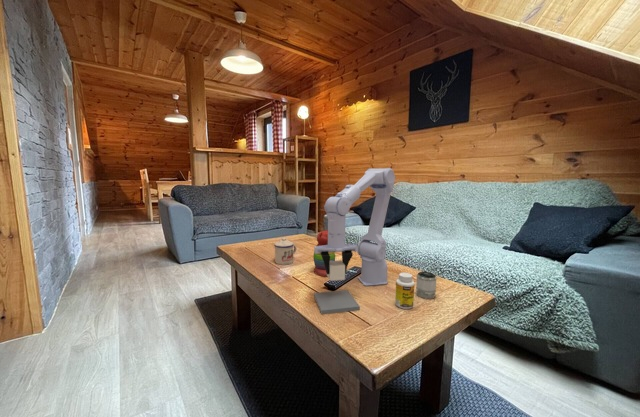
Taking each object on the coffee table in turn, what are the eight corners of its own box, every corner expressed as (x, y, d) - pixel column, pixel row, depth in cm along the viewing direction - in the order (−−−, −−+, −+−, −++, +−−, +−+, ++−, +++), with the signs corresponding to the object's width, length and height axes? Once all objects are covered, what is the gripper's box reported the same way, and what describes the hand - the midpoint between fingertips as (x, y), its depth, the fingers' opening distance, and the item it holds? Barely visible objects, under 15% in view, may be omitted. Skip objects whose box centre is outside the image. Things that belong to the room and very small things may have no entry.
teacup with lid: (282, 266, 119) (282, 241, 117) (270, 262, 125) (270, 238, 123) (302, 260, 127) (302, 236, 126) (289, 256, 134) (289, 234, 132)
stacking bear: (327, 278, 106) (327, 234, 103) (307, 272, 112) (307, 231, 109) (341, 270, 114) (342, 230, 112) (323, 265, 120) (323, 227, 118)
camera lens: (430, 301, 86) (431, 278, 85) (412, 295, 91) (413, 273, 90) (438, 295, 91) (439, 273, 90) (420, 289, 95) (422, 268, 94)
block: (340, 274, 92) (340, 260, 91) (344, 279, 87) (345, 265, 86) (326, 275, 91) (326, 261, 90) (330, 280, 86) (330, 266, 85)
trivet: (347, 293, 92) (347, 289, 92) (359, 310, 80) (359, 306, 80) (314, 296, 90) (314, 292, 89) (321, 314, 78) (321, 310, 78)
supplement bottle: (400, 310, 80) (402, 278, 79) (391, 302, 86) (393, 272, 84) (417, 308, 82) (418, 277, 80) (407, 300, 87) (408, 270, 86)
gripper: (317, 236, 81) (316, 278, 83) (361, 235, 84) (360, 275, 86) (313, 231, 88) (313, 270, 90) (354, 230, 91) (353, 268, 93)
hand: (335, 272), depth 88 cm, fingers closed on block, 5 cm apart
